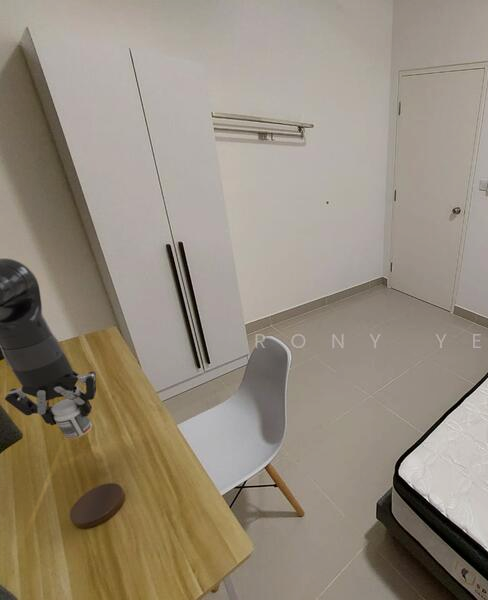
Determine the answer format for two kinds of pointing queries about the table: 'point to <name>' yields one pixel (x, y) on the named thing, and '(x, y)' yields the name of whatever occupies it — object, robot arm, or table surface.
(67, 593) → the table surface
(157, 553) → the table surface
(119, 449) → the table surface
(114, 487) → the walnut disc
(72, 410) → the pill bottle
